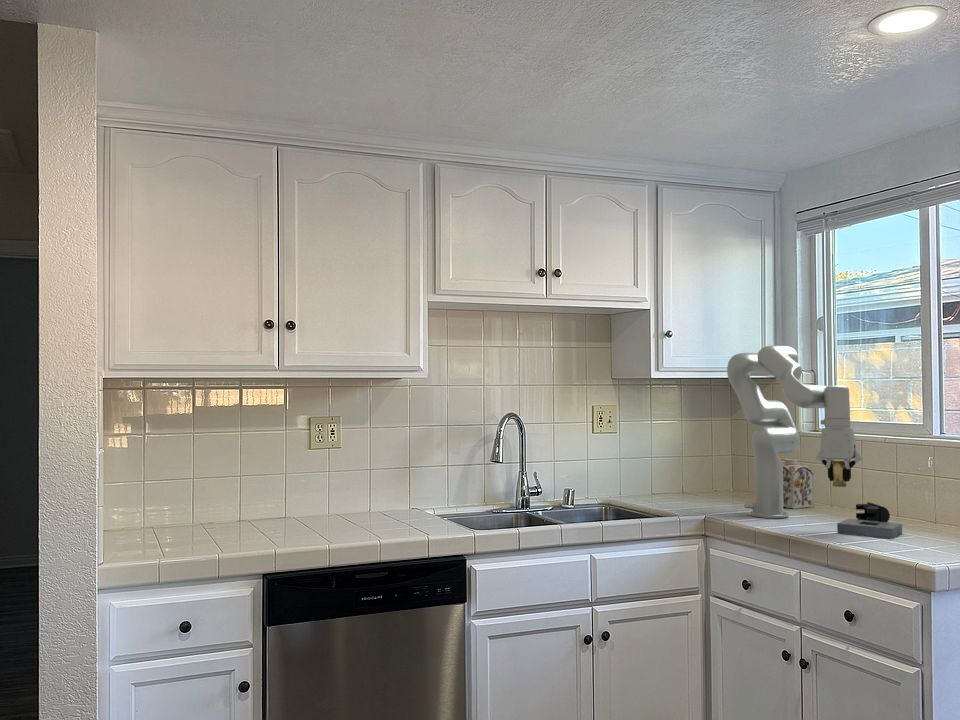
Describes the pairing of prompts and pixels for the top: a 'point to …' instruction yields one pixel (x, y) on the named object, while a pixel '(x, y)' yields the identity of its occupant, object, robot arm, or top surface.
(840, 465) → the beige cylinder
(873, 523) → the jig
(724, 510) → the top surface
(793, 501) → the decorative jar
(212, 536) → the top surface
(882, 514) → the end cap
